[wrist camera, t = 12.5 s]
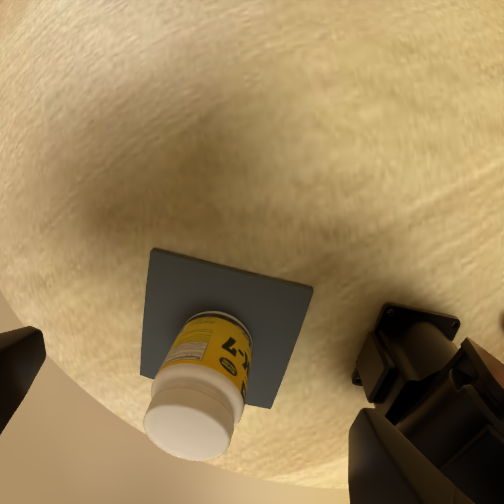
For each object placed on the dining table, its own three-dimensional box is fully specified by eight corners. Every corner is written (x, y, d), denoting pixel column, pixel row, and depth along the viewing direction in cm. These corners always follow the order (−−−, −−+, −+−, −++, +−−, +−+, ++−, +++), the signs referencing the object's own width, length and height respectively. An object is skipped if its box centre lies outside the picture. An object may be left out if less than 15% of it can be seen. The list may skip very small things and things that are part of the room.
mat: (312, 287, 19) (313, 290, 19) (270, 405, 22) (270, 409, 22) (153, 247, 19) (150, 249, 19) (142, 371, 22) (139, 375, 22)
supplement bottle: (262, 362, 20) (252, 463, 12) (197, 374, 21) (164, 467, 13) (239, 300, 19) (214, 393, 11) (170, 317, 20) (116, 402, 12)
